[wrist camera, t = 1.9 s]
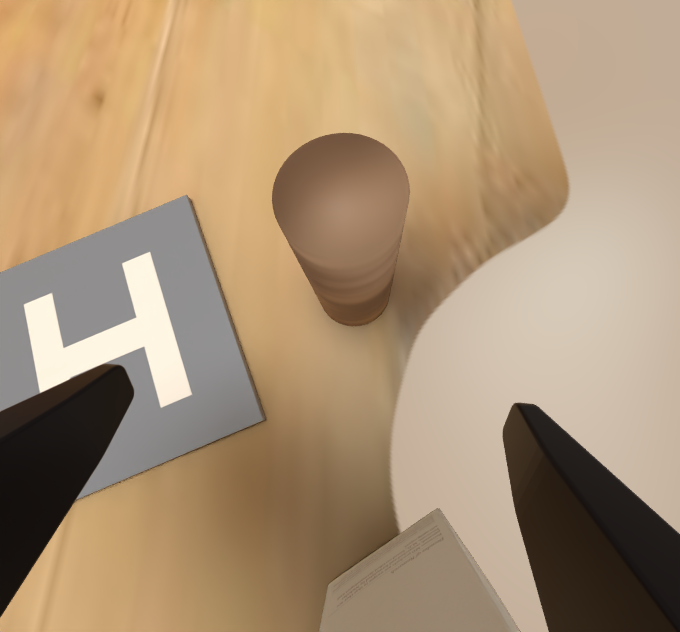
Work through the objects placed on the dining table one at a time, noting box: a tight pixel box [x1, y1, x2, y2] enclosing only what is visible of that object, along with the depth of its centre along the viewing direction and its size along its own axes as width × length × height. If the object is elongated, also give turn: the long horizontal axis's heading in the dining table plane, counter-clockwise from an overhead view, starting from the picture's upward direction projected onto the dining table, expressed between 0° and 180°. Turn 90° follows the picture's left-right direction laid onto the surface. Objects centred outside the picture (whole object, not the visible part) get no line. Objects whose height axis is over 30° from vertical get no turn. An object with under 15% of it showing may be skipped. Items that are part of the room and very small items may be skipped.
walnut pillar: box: [272, 133, 410, 326], centre depth 16 cm, size 4×4×11 cm
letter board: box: [0, 195, 266, 500], centre depth 22 cm, size 16×16×1 cm
